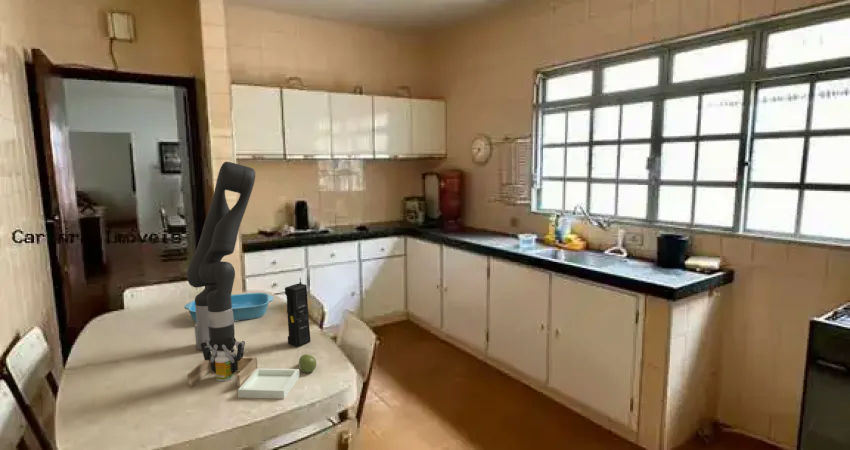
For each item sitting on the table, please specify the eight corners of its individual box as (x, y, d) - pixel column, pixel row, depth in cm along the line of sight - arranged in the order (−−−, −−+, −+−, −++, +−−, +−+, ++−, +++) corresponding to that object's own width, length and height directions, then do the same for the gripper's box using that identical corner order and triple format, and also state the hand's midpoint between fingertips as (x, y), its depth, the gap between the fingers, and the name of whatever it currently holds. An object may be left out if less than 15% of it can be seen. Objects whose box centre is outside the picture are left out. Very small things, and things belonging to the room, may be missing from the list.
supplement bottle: (227, 382, 149) (225, 353, 148) (212, 380, 150) (210, 352, 149) (237, 374, 155) (235, 346, 153) (223, 373, 156) (220, 345, 154)
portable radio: (296, 349, 174) (293, 284, 170) (285, 345, 177) (281, 281, 174) (312, 341, 181) (309, 279, 177) (300, 338, 184) (297, 276, 180)
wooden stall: (188, 387, 146) (187, 374, 145) (209, 368, 159) (208, 356, 158) (240, 388, 145) (239, 375, 144) (257, 369, 158) (256, 357, 157)
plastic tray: (238, 397, 140) (237, 389, 140) (257, 375, 154) (257, 368, 153) (284, 398, 139) (283, 390, 139) (299, 376, 153) (299, 369, 153)
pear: (300, 359, 152) (295, 353, 162) (301, 376, 152) (296, 368, 162) (317, 356, 155) (311, 350, 164) (318, 372, 155) (313, 365, 164)
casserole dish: (273, 303, 228) (272, 289, 227) (274, 318, 207) (274, 303, 206) (189, 312, 216) (188, 297, 215) (182, 330, 195) (180, 313, 194)
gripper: (192, 326, 146) (197, 377, 149) (237, 327, 145) (241, 378, 148) (205, 317, 154) (209, 366, 156) (248, 318, 153) (251, 367, 155)
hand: (225, 371), depth 152 cm, fingers closed on supplement bottle, 5 cm apart
